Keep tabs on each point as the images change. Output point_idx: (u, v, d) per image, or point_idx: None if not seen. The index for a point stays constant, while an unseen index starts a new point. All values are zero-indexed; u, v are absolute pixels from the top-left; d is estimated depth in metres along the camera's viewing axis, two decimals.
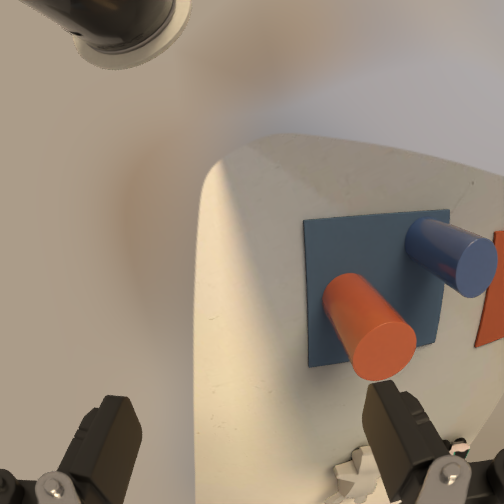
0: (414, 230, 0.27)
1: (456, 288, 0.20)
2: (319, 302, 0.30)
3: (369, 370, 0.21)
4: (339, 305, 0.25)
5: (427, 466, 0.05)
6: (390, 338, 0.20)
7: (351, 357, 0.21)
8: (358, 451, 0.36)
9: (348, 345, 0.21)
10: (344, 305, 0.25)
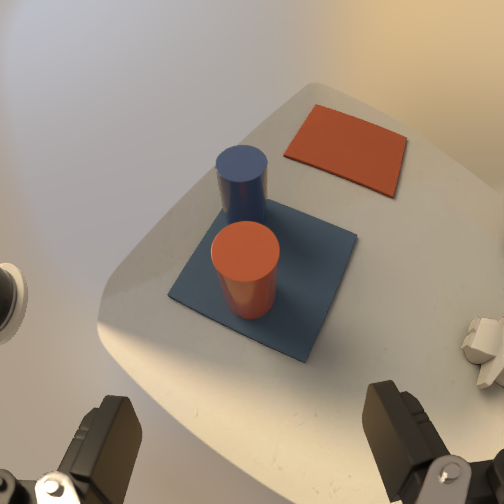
0: (225, 218, 0.36)
1: (244, 183, 0.28)
2: (238, 318, 0.31)
3: (254, 269, 0.23)
4: (222, 290, 0.28)
5: (427, 466, 0.05)
6: (231, 241, 0.24)
7: (229, 280, 0.23)
8: (466, 352, 0.27)
9: (226, 283, 0.24)
10: (220, 284, 0.28)
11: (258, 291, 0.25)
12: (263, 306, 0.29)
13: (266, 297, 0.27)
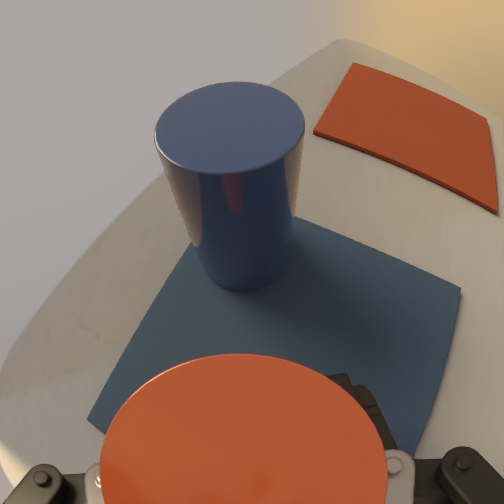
0: (199, 259, 0.16)
1: (237, 177, 0.09)
2: None
3: None
4: None
5: None
6: (177, 452, 0.04)
7: None
8: None
9: None
10: None
11: None
12: None
13: None
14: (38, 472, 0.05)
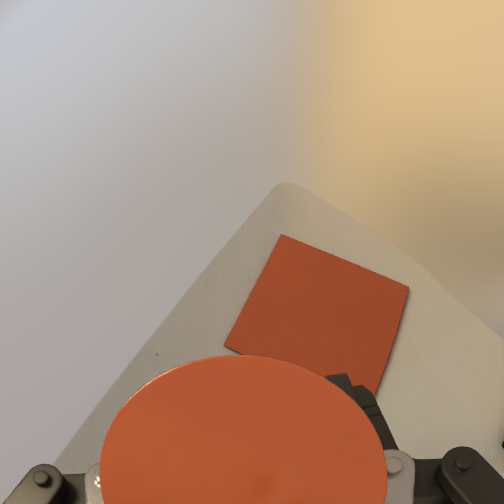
0: None
1: None
2: None
3: None
4: None
5: None
6: (176, 453, 0.04)
7: None
8: None
9: None
10: None
11: None
12: None
13: None
14: (38, 472, 0.05)
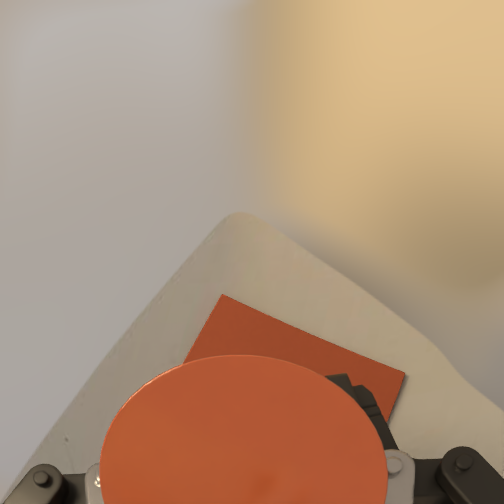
0: None
1: None
2: None
3: None
4: None
5: None
6: (177, 453, 0.04)
7: None
8: None
9: None
10: None
11: None
12: None
13: None
14: (38, 472, 0.05)
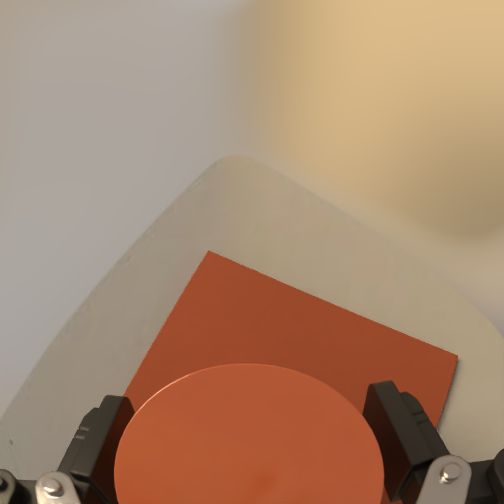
0: None
1: None
2: None
3: None
4: None
5: (427, 466, 0.05)
6: (189, 455, 0.05)
7: None
8: None
9: None
10: None
11: None
12: None
13: None
14: None
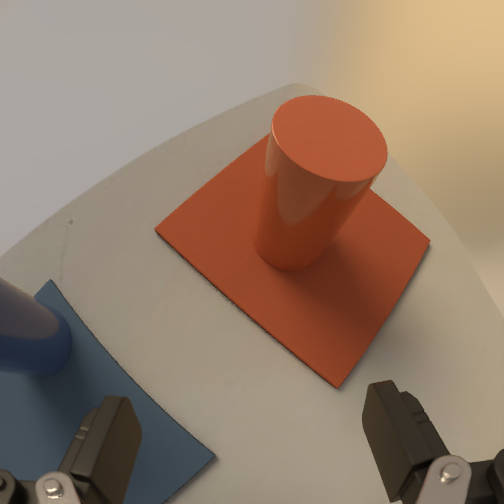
0: None
1: None
2: None
3: (344, 164, 0.12)
4: (259, 207, 0.17)
5: (427, 466, 0.05)
6: (311, 115, 0.13)
7: (296, 169, 0.12)
8: None
9: (284, 178, 0.13)
10: (259, 195, 0.17)
11: (331, 214, 0.14)
12: (314, 252, 0.18)
13: (329, 235, 0.16)
14: None
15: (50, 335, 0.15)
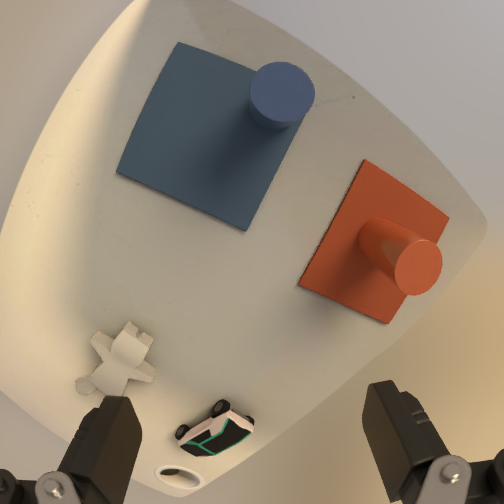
0: None
1: (249, 95, 0.22)
2: (153, 108, 0.30)
3: (403, 276, 0.25)
4: (386, 228, 0.29)
5: (427, 466, 0.05)
6: (428, 257, 0.24)
7: (397, 255, 0.25)
8: (124, 326, 0.36)
9: (395, 248, 0.26)
10: (392, 228, 0.29)
11: (384, 270, 0.27)
12: (369, 258, 0.32)
13: (377, 267, 0.30)
14: None
15: (284, 127, 0.28)
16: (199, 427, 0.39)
